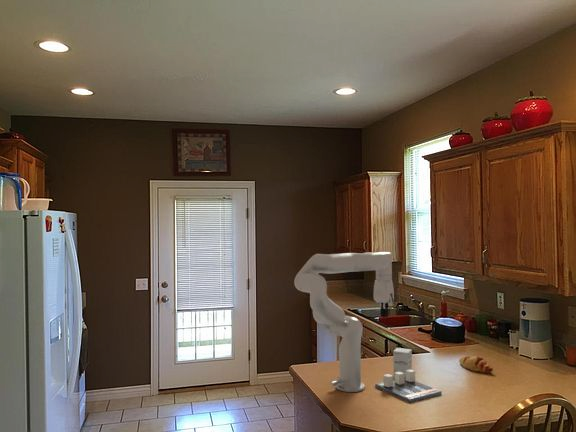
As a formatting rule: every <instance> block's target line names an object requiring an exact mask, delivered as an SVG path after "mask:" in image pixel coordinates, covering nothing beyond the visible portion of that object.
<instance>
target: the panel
mask: <svg viewBox="0 0 576 432" xmlns="http://www.w3.org/2000/svg"><path fill="white" fill-rule="evenodd" d="M374 387H375V388H376V389H379V390H381V391H383V392H386V393H387V394H390V395H392V396H393V397H397V398H399V399H400V400H402V401H405V402H407V403H410V404H411V403H415V402H418V401H423V400H426V399H430V398H434V397H437V396H442V390H440V389H438V388H435V387H433V386H429V385H428V384H427V385H426V384H424V383H422V382H420V381H416V380H415V381H413V382H409V381H406V377H404V384H400V385H399V384H397V383H395V378H393V386H392V387H386V386H384V385H383V381H381V382H376V383H375V384H374Z"/></svg>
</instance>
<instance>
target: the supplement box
mask: <svg viewBox="0 0 576 432" xmlns="http://www.w3.org/2000/svg"><path fill="white" fill-rule="evenodd" d="M412 350H413V349H410V348H403V347H402V348H401V347H396V348H395V349H394V350H393V351H392V352H393V355H392V357H393V378H395V372H402V373H404V377H406V370H410V369H411V370H413V367H412V366H413V365H412V362H413V361H412V360H413V358H412V357H413V355H412V353H413V351H412Z"/></svg>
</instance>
